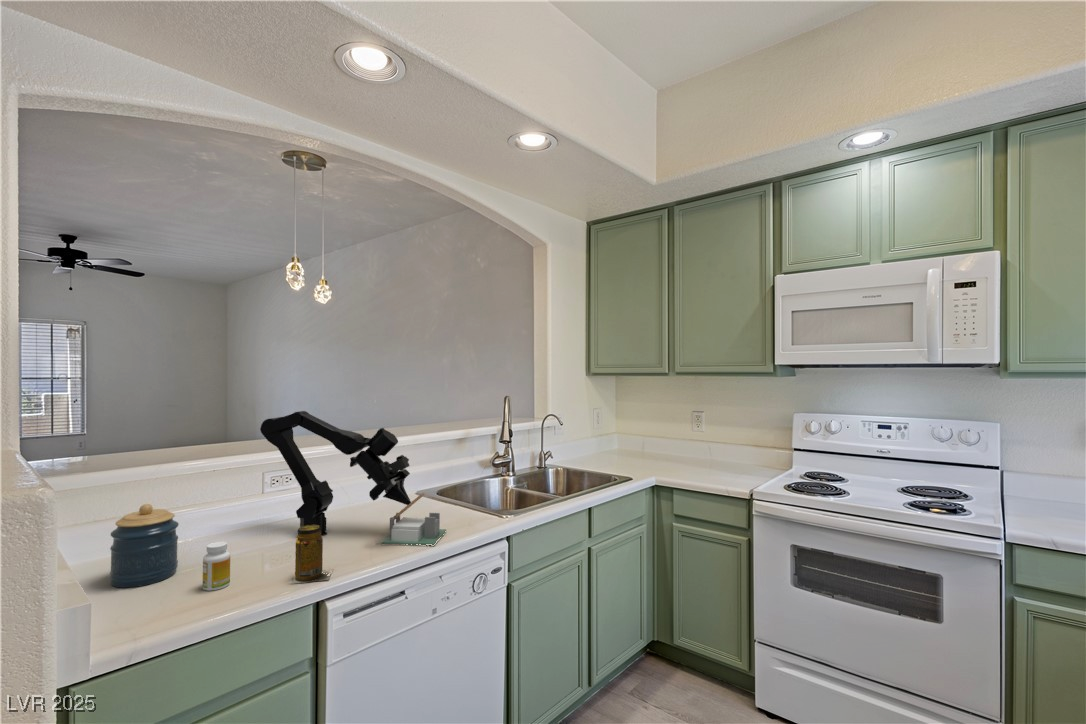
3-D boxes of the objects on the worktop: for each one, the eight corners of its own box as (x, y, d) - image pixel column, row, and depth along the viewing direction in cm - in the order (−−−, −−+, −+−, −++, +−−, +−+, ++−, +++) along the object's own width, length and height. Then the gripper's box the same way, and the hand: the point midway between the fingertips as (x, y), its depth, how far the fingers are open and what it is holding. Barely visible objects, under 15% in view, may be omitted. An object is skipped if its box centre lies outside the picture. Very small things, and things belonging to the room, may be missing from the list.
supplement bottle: (234, 581, 120) (235, 540, 120) (221, 591, 114) (221, 548, 115) (211, 581, 120) (212, 540, 120) (197, 591, 114) (197, 548, 114)
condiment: (297, 572, 125) (297, 524, 126) (333, 569, 127) (334, 521, 128) (290, 584, 118) (290, 533, 118) (328, 581, 120) (329, 530, 121)
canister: (107, 576, 122) (108, 503, 122) (172, 562, 131) (174, 494, 131) (112, 594, 113) (113, 515, 113) (182, 577, 122) (183, 504, 122)
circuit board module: (381, 544, 145) (381, 520, 145) (398, 530, 158) (398, 508, 158) (433, 546, 144) (434, 521, 144) (446, 531, 157) (446, 509, 157)
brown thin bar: (390, 518, 150) (419, 494, 150) (394, 515, 153) (423, 492, 153) (392, 521, 150) (421, 497, 150) (396, 518, 153) (425, 494, 153)
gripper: (380, 453, 143) (417, 492, 142) (403, 443, 162) (437, 478, 160) (353, 480, 143) (390, 520, 142) (379, 467, 162) (413, 502, 161)
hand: (409, 503), depth 152 cm, fingers closed, pressing on brown thin bar
